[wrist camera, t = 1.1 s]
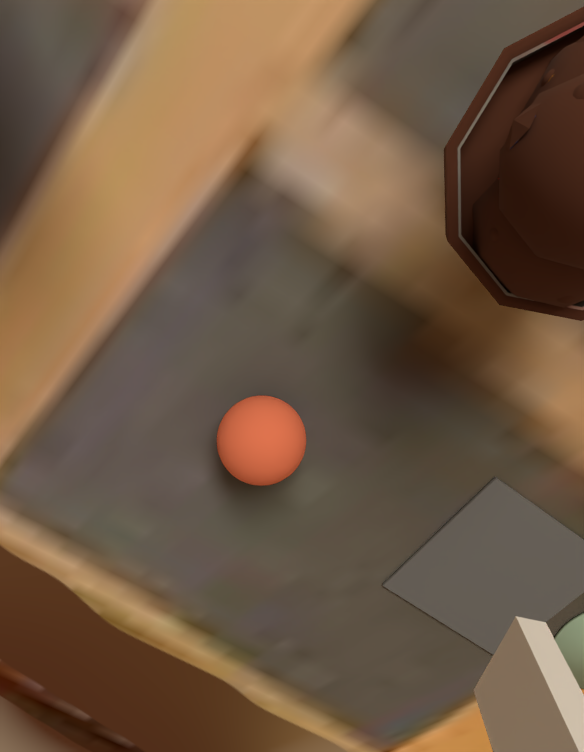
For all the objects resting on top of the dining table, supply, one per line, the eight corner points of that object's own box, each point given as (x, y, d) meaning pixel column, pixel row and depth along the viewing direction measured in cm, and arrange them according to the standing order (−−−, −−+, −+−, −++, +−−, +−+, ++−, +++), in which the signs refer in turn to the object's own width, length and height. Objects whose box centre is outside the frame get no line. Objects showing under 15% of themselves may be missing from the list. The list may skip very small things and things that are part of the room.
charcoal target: (382, 583, 38) (382, 585, 37) (495, 476, 34) (496, 478, 34) (498, 656, 40) (499, 658, 40) (616, 563, 36) (618, 565, 36)
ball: (209, 427, 33) (190, 471, 28) (255, 366, 32) (243, 401, 27) (275, 470, 34) (268, 519, 29) (323, 413, 33) (324, 455, 28)
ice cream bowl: (483, 315, 30) (630, 430, 16) (362, 170, 27) (410, 156, 13) (645, 186, 27) (1003, 187, 13) (527, 9, 24) (813, -228, 10)
